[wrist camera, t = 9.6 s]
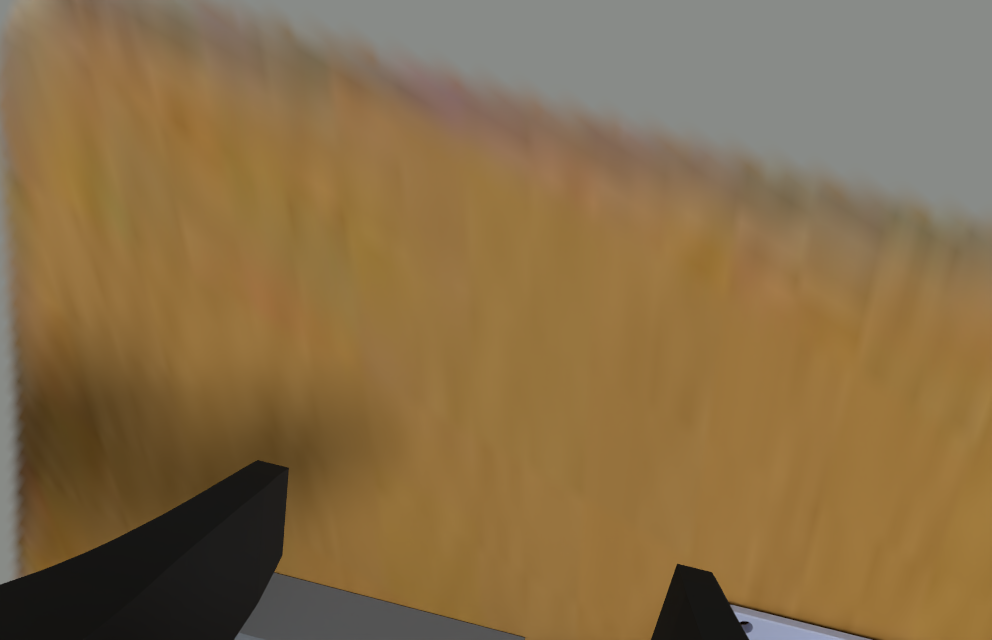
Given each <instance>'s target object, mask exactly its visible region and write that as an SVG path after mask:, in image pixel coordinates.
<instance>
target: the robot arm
mask: <svg viewBox="0 0 992 640" xmlns="http://www.w3.org/2000/svg"><path fill="white" fill-rule="evenodd" d="M288 471H289V468H287V467H283V466H279V465H275V464H271V463H267V462H263V461H259V460H257V461H255V462H253V463H252V464H250V465H248V466H246V467H245V468H243V469H241V470H240V471H238V472H236V473H234V474H233V475H231V476H229V477H228V478H226V479H224V480H222V481H221V482H219V483H217V484H216V485H214V486H212V487H211V488H209V489H207V490H205V491H204V492H202V493H200V494H199V495H197V496H195V497H193V498H192V499H190V500H188V501H186V502H185V503H183V504H181V505H179V506H177V507H176V508H174V509H172V510H170V511H169V512H167V513H165V514H163V515H161V516H159V517H158V518H156V519H154V520H152V521H150V522H148V523H146V524H144V525H142V526H140V527H138V528H136V529H134V530H132V531H130V532H128V533H126V534H124V535H122V536H120V537H118V538H116V539H114V540H112V541H110V542H108V543H106V544H104V545H101V546H99V547H97V548H95V549H93V550H90V551H88V552H86V553H84V554H81V555H79V556H76V557H74V558H71V559H69V560H67V561H64V562H62V563H59V564H57V565H54V566H52V567H49V568H47V569H44V570H41V571H39V572H36V573H33V574H30V575H27V576H24V577H21V578H18V579H15V580H13V581H10V582H7V583H4V584H1V585H0V640H234V639H235V638H236V636H237V635H238V633H239V631H240V630H241V628H242V627H243V625H244V624H245V622H246V621H247V619H248V618H249V616H250V615H251V613H252V612H253V610H254V609H255V607H256V606H257V604H258V602H259V600H260V598H261V597H262V595H263V593H264V591H265V589H266V587H267V585H268V583H269V581H270V579H271V577H272V575H273V573H274V571H275V569H276V567H277V565H278V563H279V561H280V559H281V557H282V552H283V538H284V525H285V511H286V498H287V484H288ZM742 621H747V622H749V623H748V624H745V625H742V624H740V622H742ZM651 640H871V639H867V638H863V637H859V636H855V635H851V634H847V633H843V632H839V631H835V630H831V629H827V628H823V627H819V626H815V625H811V624H807V623H803V622H799V621H795V620H791V619H787V618H783V617H779V616H775V615H771V614H767V613H763V612H759V611H755V610H751V609H747V608H743V607H739V606H735V605H730V604H729V602H728V600H727V598H726V597H725V595H724V593H723V591H722V589H721V587H720V586H719V584H718V582H717V580H716V578H715V577H714V575H713V573H712V572H709V571H704V570H700V569H696V568H692V567H688V566H684V565H680V564H677V566H676V569H675V572H674V575H673V578H672V580H671V583H670V586H669V589H668V592H667V595H666V598H665V601H664V604H663V607H662V610H661V612H660V615H659V618H658V621H657V624H656V627H655V630H654V633H653V636H652V639H651Z"/></svg>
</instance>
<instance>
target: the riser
mask: <svg viewBox="0 0 992 640" xmlns="http://www.w3.org/2000/svg"><path fill="white" fill-rule="evenodd" d="M234 640H525V638H524V637H520V636H516V635H513V634H509V633H505V632H501V631H497V630H493V629H489V628H486V627H482V626H478V625H474V624H470V623H466V622H462V621H459V620H455V619H451V618H447V617H443V616H439V615H435V614H432V613H428V612H424V611H420V610H416V609H412V608H408V607H405V606H401V605H397V604H393V603H389V602H385V601H381V600H378V599H374V598H370V597H366V596H362V595H358V594H354V593H351V592H347V591H343V590H339V589H335V588H331V587H327V586H324V585H320V584H316V583H312V582H308V581H304V580H300V579H297V578H293V577H289V576H285V575H281V574H277V573H273V575H272V577H271V579H270V581H269V583H268V585H267V587H266V589H265V591H264V593H263V595H262V597H261V598H260V600H259V602H258V604H257V606H256V607H255V609H254V610H253V612H252V613H251V615H250V616H249V618H248V619H247V621H246V622H245V624H244V625H243V627H242V628H241V630H240V631H239V633H238V635H237V636H236V638H235V639H234Z"/></svg>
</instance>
